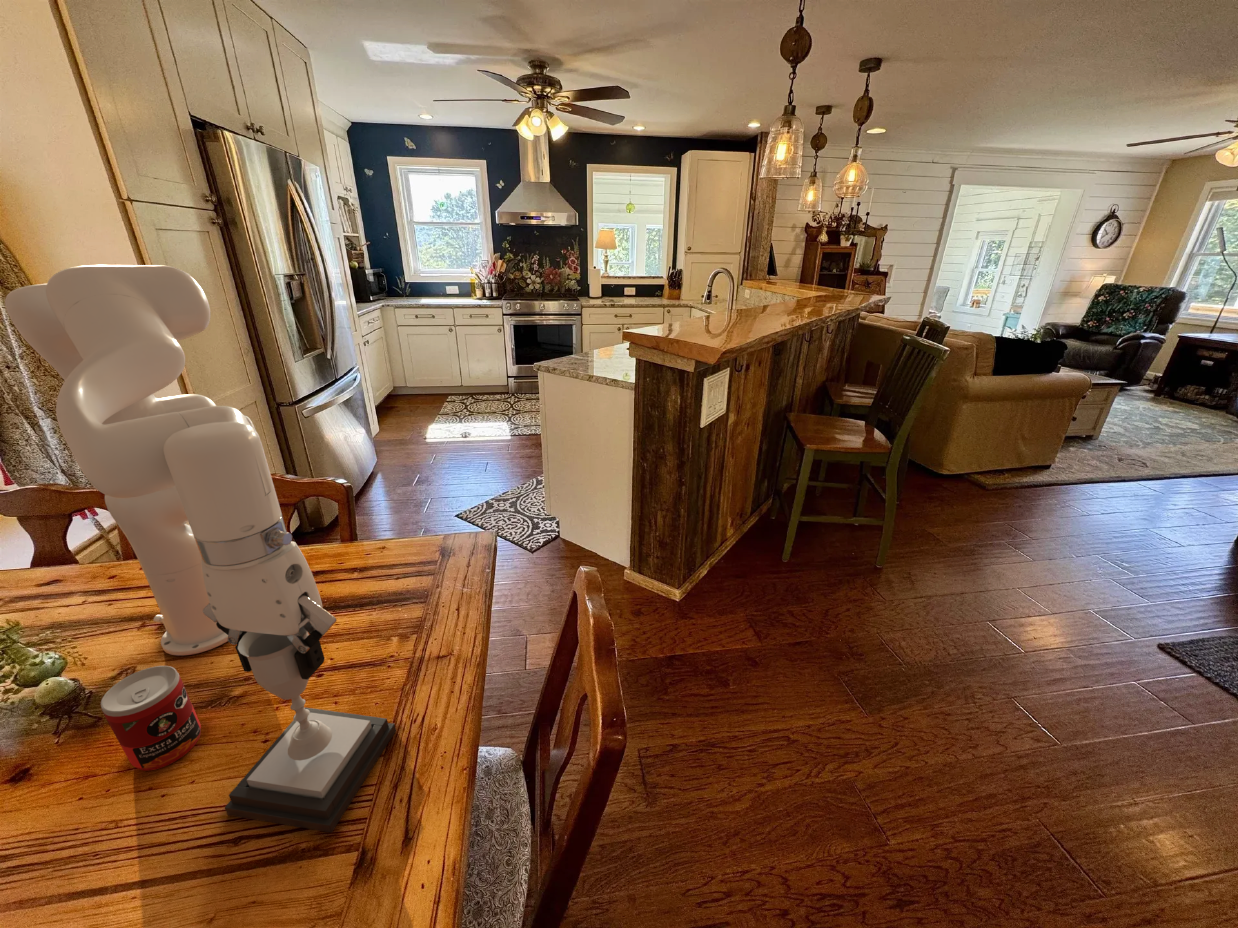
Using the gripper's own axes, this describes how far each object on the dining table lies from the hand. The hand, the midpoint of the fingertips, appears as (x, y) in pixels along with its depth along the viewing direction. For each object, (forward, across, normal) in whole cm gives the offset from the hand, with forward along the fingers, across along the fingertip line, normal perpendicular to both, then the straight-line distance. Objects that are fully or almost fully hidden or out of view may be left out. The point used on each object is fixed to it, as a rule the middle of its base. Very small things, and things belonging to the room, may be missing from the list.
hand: (285, 665), depth 59 cm
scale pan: (+16, 0, 0) cm, 16 cm away
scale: (+18, 0, 0) cm, 18 cm away
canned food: (+18, +23, 0) cm, 29 cm away
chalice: (+13, 0, 0) cm, 13 cm away
